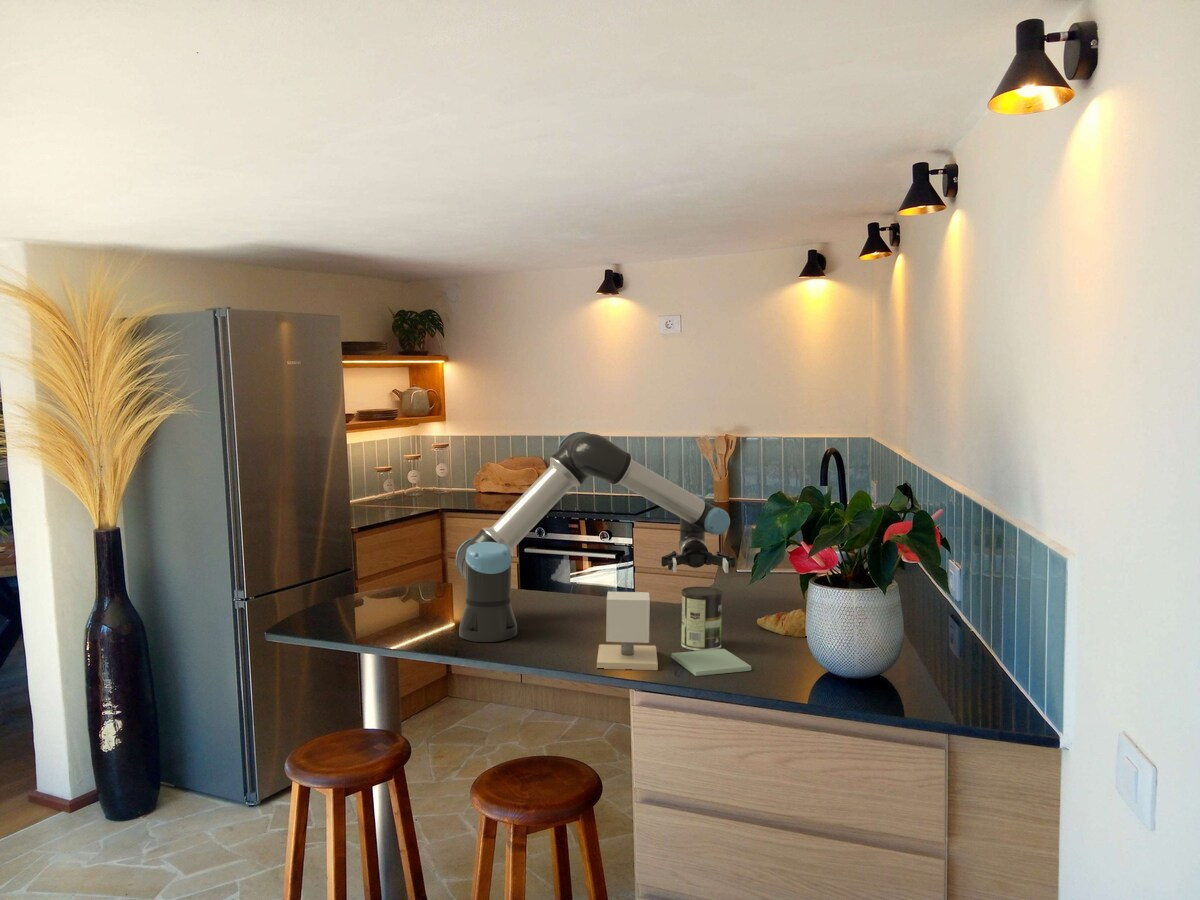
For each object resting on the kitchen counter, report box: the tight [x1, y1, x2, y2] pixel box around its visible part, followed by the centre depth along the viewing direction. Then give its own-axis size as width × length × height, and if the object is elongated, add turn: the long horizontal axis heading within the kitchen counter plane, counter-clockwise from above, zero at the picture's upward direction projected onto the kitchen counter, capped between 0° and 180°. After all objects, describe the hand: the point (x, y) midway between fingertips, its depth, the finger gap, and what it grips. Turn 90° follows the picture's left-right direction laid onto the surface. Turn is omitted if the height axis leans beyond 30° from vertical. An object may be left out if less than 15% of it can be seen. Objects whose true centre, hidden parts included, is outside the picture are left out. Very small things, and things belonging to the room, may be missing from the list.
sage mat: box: [671, 648, 752, 677], centre depth 196 cm, size 14×14×1 cm
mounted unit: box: [596, 591, 659, 671], centre depth 197 cm, size 14×14×16 cm
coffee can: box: [680, 586, 723, 651], centre depth 210 cm, size 10×10×14 cm
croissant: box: [756, 608, 807, 638], centre depth 223 cm, size 21×10×8 cm, turn 64°
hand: (700, 567), depth 219 cm, fingers open, 13 cm apart
